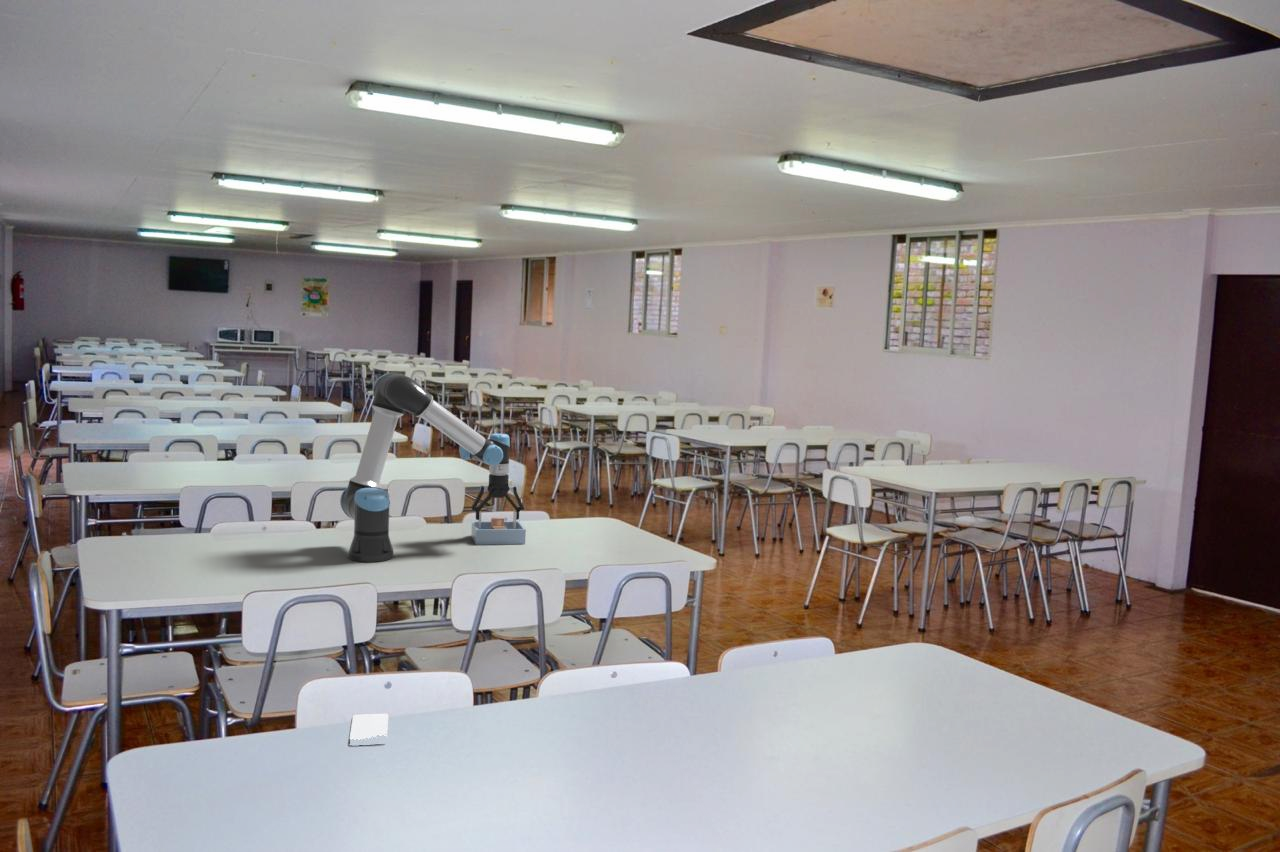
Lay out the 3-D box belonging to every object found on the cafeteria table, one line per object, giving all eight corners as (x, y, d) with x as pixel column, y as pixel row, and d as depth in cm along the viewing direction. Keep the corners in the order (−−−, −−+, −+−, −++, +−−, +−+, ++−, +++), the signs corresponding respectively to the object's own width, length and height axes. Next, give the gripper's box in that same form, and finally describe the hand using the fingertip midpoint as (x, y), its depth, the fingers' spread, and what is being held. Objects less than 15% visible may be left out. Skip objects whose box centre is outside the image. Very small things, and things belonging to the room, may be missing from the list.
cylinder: (489, 535, 386) (490, 517, 386) (502, 535, 388) (503, 517, 387) (491, 538, 382) (492, 520, 381) (504, 537, 383) (505, 519, 382)
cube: (492, 539, 380) (492, 526, 379) (505, 538, 381) (505, 526, 380) (493, 542, 375) (494, 529, 374) (507, 541, 376) (507, 528, 376)
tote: (475, 544, 372) (476, 530, 371) (471, 535, 387) (471, 521, 386) (525, 543, 377) (525, 529, 376) (518, 535, 392) (519, 521, 391)
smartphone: (348, 745, 194) (352, 714, 208) (348, 749, 194) (352, 718, 208) (386, 743, 195) (388, 713, 210) (386, 747, 195) (388, 716, 210)
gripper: (467, 475, 375) (465, 530, 377) (532, 475, 382) (530, 529, 384) (465, 472, 383) (463, 526, 385) (529, 472, 389) (527, 525, 392)
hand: (497, 528), depth 385 cm, fingers open, 13 cm apart
